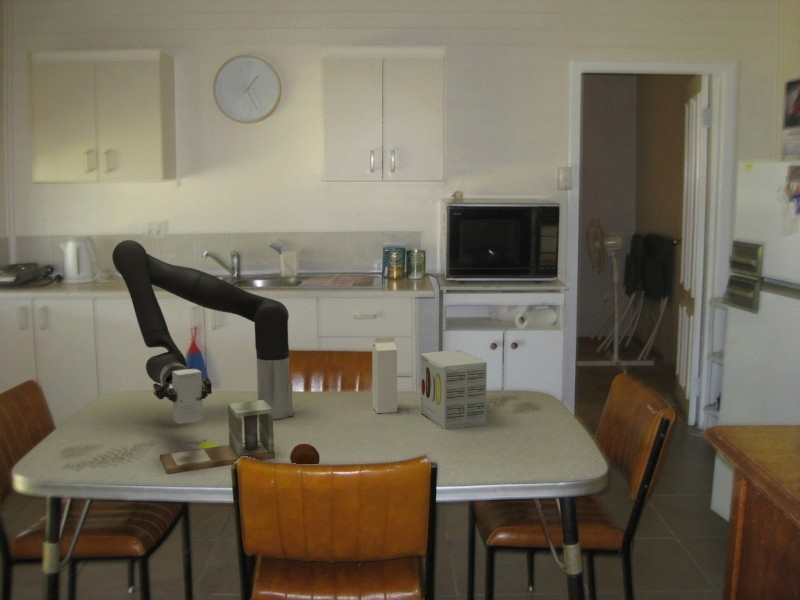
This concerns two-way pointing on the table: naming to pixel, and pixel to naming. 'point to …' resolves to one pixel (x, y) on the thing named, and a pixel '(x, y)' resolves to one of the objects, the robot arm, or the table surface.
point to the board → (231, 440)
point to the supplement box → (453, 389)
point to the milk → (384, 375)
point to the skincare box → (187, 395)
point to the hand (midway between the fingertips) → (189, 396)
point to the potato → (304, 454)
